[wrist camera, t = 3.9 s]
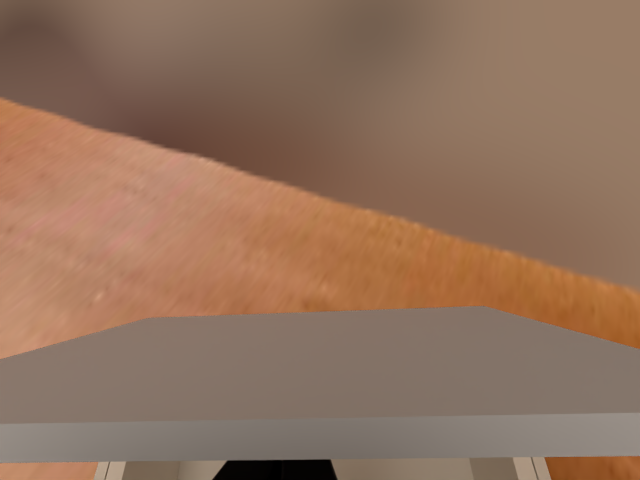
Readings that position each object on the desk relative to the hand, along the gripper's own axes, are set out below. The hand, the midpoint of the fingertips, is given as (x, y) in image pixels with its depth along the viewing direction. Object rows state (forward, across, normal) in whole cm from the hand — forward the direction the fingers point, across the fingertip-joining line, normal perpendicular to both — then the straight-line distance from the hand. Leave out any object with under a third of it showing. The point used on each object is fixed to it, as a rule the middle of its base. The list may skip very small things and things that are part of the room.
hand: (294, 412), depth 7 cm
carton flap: (+1, 0, -1) cm, 1 cm away
